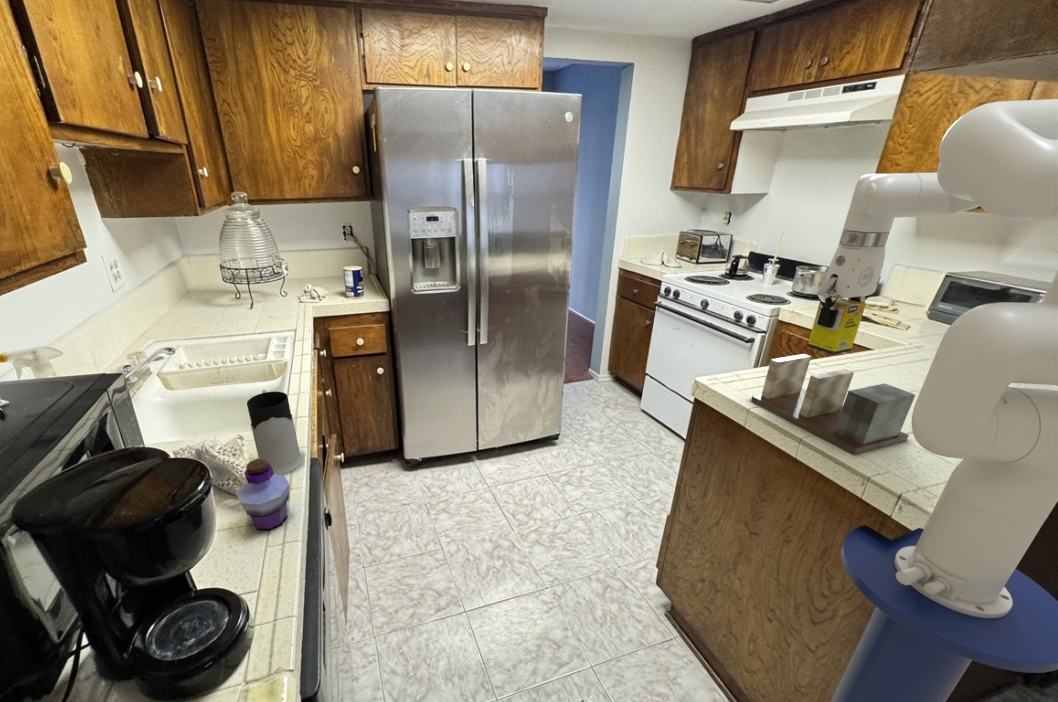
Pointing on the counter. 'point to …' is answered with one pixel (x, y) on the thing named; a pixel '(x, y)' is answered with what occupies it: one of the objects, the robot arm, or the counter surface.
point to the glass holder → (274, 431)
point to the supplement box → (838, 328)
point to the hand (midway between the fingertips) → (836, 323)
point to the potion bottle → (264, 495)
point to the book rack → (835, 405)
